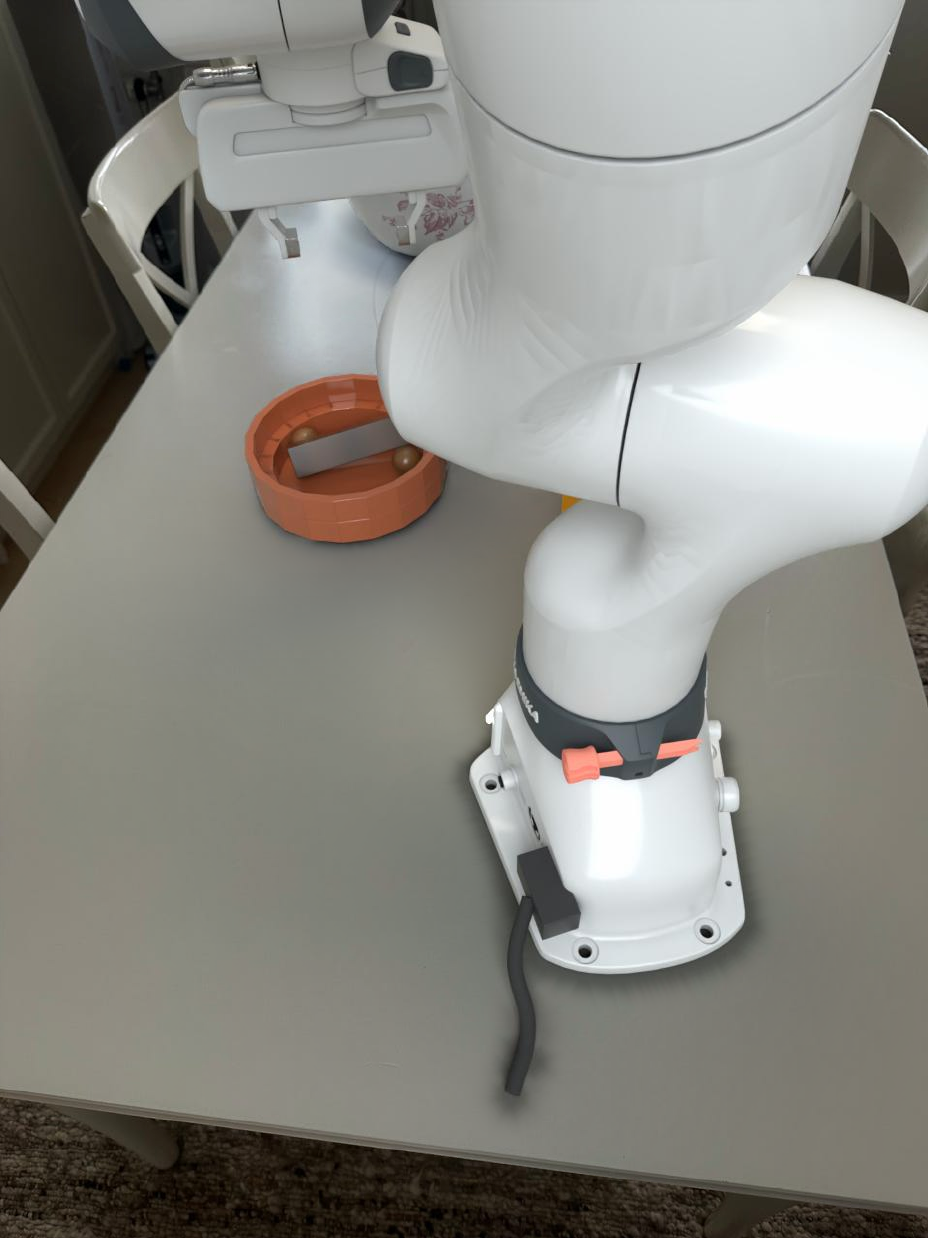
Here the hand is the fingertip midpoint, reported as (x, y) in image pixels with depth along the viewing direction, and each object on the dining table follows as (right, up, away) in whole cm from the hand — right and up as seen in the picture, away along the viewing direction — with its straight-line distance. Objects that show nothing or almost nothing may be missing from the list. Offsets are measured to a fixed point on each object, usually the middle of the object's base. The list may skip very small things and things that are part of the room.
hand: (349, 248), depth 71 cm
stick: (-2, -13, +15) cm, 20 cm away
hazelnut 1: (-5, -14, +16) cm, 21 cm away
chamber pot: (+6, +22, +47) cm, 52 cm away
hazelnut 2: (+3, -16, +15) cm, 22 cm away
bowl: (-2, -17, +15) cm, 23 cm away
